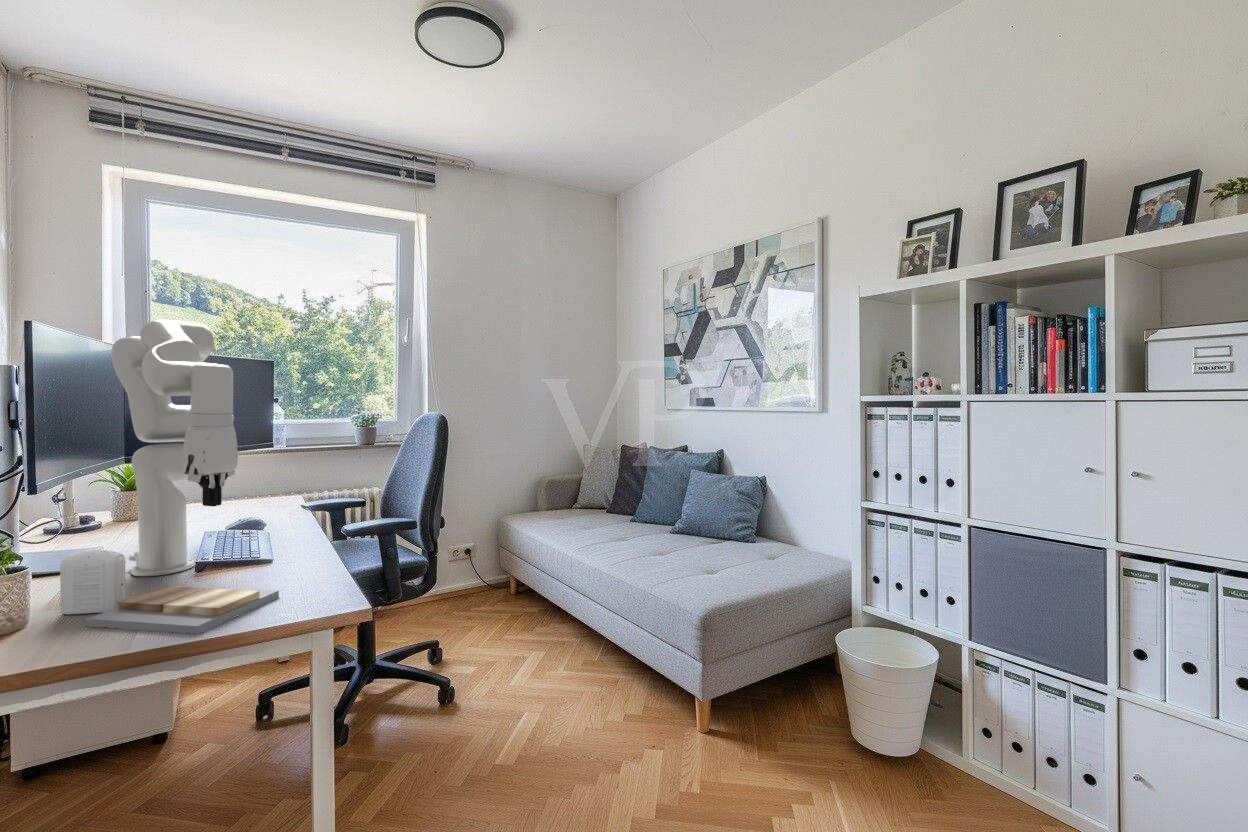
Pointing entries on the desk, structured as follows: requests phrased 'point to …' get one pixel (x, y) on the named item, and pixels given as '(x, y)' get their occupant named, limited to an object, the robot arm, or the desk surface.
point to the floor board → (174, 616)
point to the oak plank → (211, 601)
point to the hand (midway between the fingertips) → (212, 505)
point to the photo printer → (92, 581)
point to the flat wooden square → (156, 598)
